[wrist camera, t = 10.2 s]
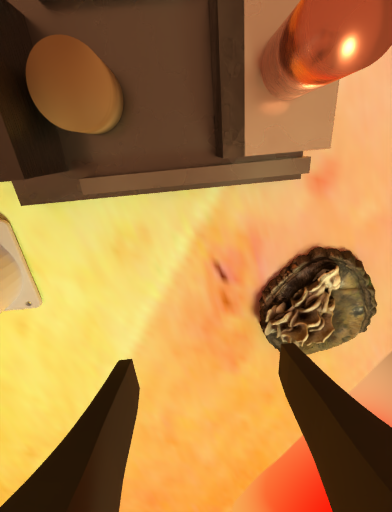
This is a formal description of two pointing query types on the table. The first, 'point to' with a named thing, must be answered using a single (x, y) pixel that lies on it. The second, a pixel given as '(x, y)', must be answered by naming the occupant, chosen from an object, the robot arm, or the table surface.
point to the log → (318, 301)
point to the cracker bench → (134, 105)
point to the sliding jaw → (287, 68)
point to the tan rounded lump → (73, 86)
